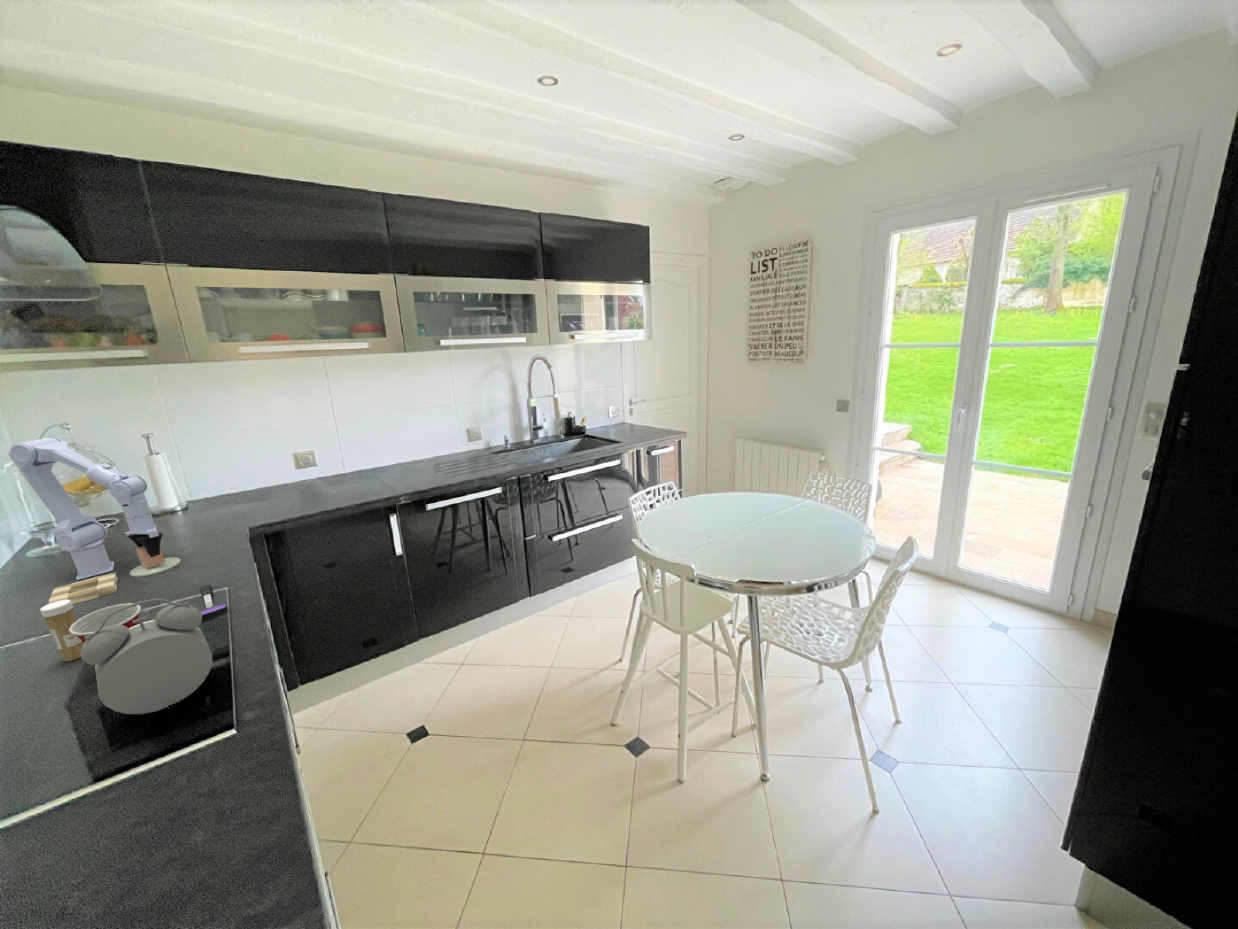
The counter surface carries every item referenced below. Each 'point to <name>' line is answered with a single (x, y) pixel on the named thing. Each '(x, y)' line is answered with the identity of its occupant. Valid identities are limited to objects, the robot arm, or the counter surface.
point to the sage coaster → (155, 567)
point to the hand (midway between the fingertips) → (151, 554)
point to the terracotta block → (149, 558)
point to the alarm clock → (149, 659)
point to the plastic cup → (95, 619)
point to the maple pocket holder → (86, 589)
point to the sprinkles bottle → (63, 628)
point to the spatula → (209, 600)
